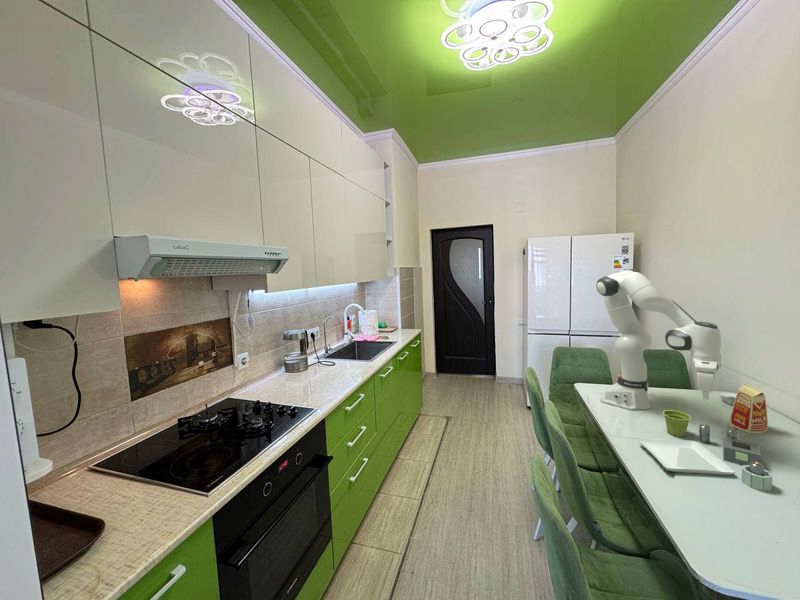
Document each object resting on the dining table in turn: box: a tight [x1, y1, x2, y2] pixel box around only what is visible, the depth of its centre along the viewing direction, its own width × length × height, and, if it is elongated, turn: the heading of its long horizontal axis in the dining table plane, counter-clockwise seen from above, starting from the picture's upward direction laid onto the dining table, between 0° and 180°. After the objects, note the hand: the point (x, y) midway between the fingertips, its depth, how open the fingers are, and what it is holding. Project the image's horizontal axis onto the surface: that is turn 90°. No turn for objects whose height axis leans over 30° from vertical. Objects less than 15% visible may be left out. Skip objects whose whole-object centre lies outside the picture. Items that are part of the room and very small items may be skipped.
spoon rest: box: [718, 392, 737, 406], centre depth 161 cm, size 24×12×7 cm, turn 144°
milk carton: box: [728, 382, 769, 434], centre depth 141 cm, size 9×9×20 cm
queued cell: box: [725, 427, 739, 440], centre depth 129 cm, size 3×3×8 cm
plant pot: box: [662, 409, 692, 438], centre depth 141 cm, size 9×9×9 cm
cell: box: [698, 423, 711, 445], centre depth 134 cm, size 3×3×8 cm
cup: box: [741, 465, 773, 492], centre depth 107 cm, size 7×7×5 cm
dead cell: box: [750, 461, 765, 476], centre depth 107 cm, size 3×3×8 cm
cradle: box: [722, 436, 762, 466], centre depth 120 cm, size 9×10×6 cm
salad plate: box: [637, 438, 736, 476], centre depth 123 cm, size 21×21×3 cm
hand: (706, 395), depth 132 cm, fingers open, 8 cm apart
